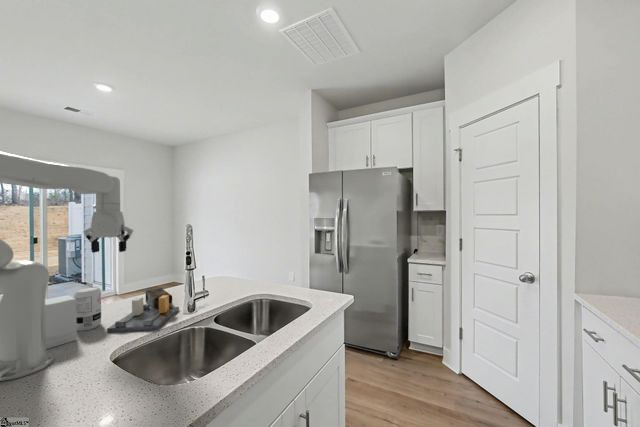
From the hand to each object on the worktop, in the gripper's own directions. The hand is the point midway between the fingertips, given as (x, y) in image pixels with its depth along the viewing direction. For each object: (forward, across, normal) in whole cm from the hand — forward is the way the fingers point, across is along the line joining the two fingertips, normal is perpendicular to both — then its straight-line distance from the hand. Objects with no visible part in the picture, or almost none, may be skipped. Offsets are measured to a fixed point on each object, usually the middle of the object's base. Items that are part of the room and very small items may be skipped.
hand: (109, 251), depth 106 cm
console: (+30, +10, +7) cm, 33 cm away
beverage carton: (+31, +6, +27) cm, 41 cm away
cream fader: (+28, +5, +10) cm, 31 cm away
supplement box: (+31, -12, -9) cm, 34 cm away
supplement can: (+31, -10, +3) cm, 32 cm away
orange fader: (+28, +15, +12) cm, 34 cm away
